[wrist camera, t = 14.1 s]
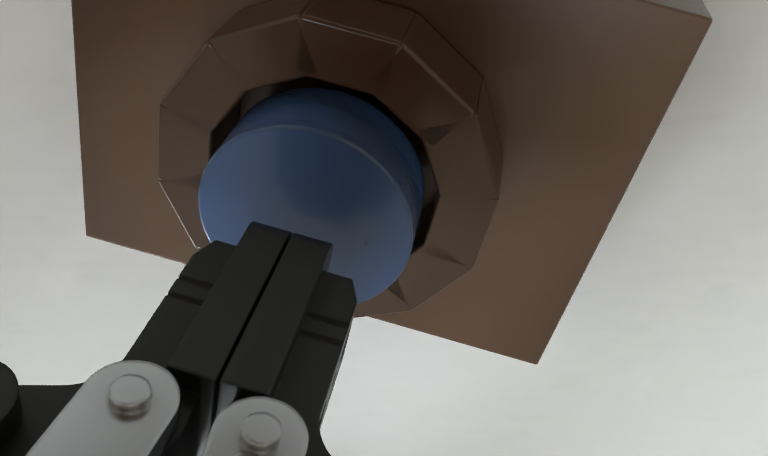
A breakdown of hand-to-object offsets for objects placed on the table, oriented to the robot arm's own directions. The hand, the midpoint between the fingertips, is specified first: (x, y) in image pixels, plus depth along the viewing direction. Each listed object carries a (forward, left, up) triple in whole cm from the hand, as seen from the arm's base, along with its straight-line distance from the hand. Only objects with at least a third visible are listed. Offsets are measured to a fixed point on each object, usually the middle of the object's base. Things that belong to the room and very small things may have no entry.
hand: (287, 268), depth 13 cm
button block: (0, 0, -7) cm, 7 cm away
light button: (0, 0, -3) cm, 3 cm away
